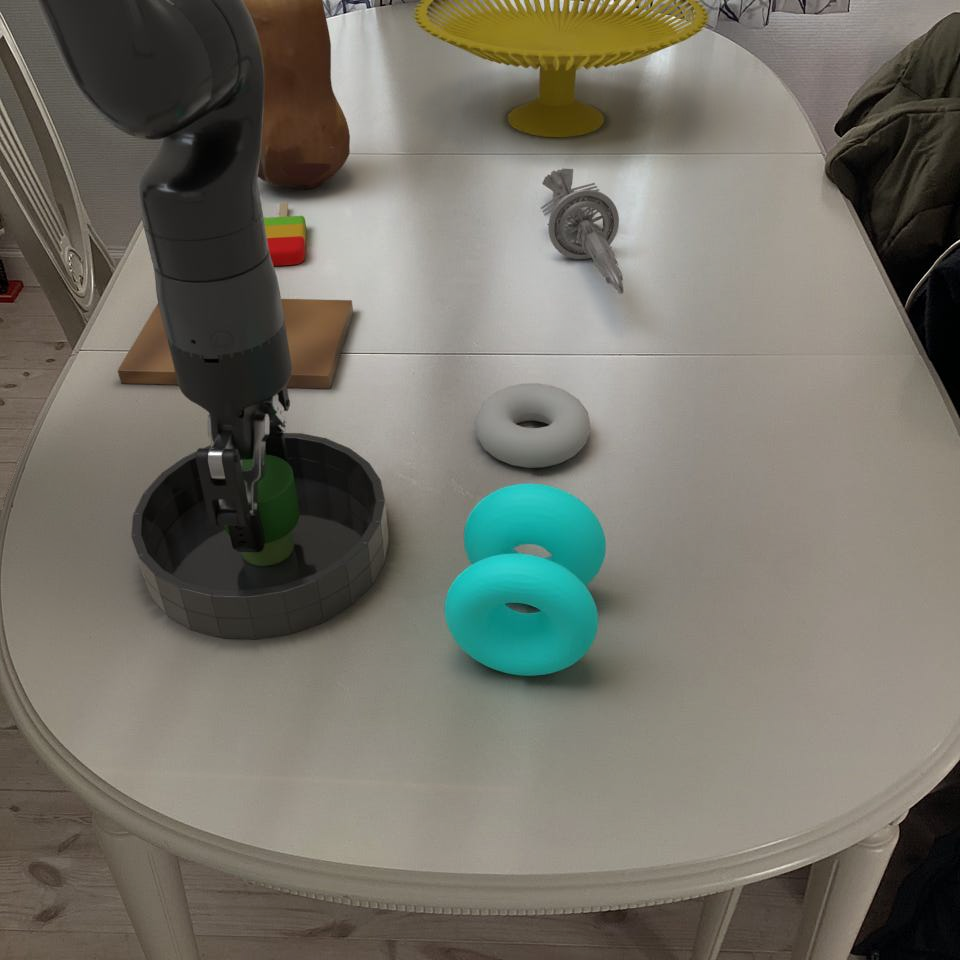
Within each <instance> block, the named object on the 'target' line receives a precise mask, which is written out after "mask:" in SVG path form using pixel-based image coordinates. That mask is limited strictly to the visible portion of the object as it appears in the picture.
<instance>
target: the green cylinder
mask: <svg viewBox="0 0 960 960" xmlns="http://www.w3.org/2000/svg"><path fill="white" fill-rule="evenodd" d="M242 461H243V466H242V469H250V468H251V467H252V466H253V459H251V460H242ZM244 483H245V489H246V482H245V481H244ZM258 508H259V513H260V518H261V522H262V527H263V532H264V537H265V545H264V548H263V550H262V551H261V552H241V553H242V556H243V558H244V559H245V560H246V561H247V562H249V563H251V564H253V565H257V566H270V565H274V564H277V563H279V562H282V561H283V560H285V559H286V558H287V557H288V556H289V555H290V554H291V553H292V551H293V548H294V541H293V535H292V530H293V529H294V528H295V526H296V525H297V523H298V520H299V516H300V512H299V506H298V500H297V494H296V488H295V482H294V476H293V471H292V468H291V467H290V465H289V464H288V463H287V462H286V461H284V460H283V459H281V458H279V457H276V456H272V455H265V477H264V478H263V479H262V480H260V481H259V482H258ZM224 527H225V530H226V532H227V533H228V534H229V530H228V525H224ZM229 535H230V534H229Z"/></svg>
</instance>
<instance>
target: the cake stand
mask: <svg viewBox="0 0 960 960" xmlns="http://www.w3.org/2000/svg"><path fill="white" fill-rule="evenodd" d="M472 1H473V2H474V3H475V4H476V6H475V5H474V4H473V3H472V2H471V1H470V0H462V2H463V3H465V4H466V6H467V7H466V6H465V5H464V4H463V3H461V1H459V0H452V2H453V3H455V4H456V5H457V6H458V7H459V8H457V6H456V5H454V4H453V3H452V2H451V1H449V0H441V1H440V0H419V2H420V3H419V4H418V3H417V4H416V6H417V7H413V8H412V9H413V10H414V11H413V12H412V14H413V15H414V16H412V18H413V19H415V20H414V22H415V23H417V26H418V27H420V28H421V29H422V31H424V32H426V33H427V34H428V35H430V36H433V37H434V38H436V39H439V40H441V41H443V42H445V43H448V44H449V45H452V46H454V47H455V48H458V49H461V50H463V51H465V52H467V53H470V54H472V55H473V56H476V57H478V58H481V59H483V60H487V61H489V62H491V63H493V62H494V63H496V64H500V65H501V64H503V65H506V66H513V67H515V68H518V67H520V66H521V67H523V68H525V69H528V68H529V67H531V68H532V69H533V70H538V69H539V82H538V84H539V85H538V97H537V98H535V99H533V100H530V101H528V102H525V103H524V104H522V105H520V106H517V107H515V108H514V109H512V110H511V111H510V112H509V114H508V116H507V121H508V123H509V125H510V126H511V127H513V128H514V129H515V130H517V131H519V132H521V133H525V134H528V135H531V136H537V137H546V138H571V137H578V136H583V135H587V134H590V133H593V132H595V131H597V130H599V129H600V128H601V127H602V126H603V124H604V122H605V117H604V115H603V114H602V112H601V111H599V110H598V109H597V108H594V107H593V106H591V105H590V104H588V103H587V104H586V103H585V102H583V101H581V100H578V99H577V98H575V97H576V96H575V93H576V76H577V71H579V70H580V69H582V68H584V69H585V70H589V69H592V68H595V70H596V69H600V68H602V67H604V68H608V67H611V66H614V67H616V66H618V65H620V64H621V65H624V64H626V63H632V62H633V61H637V60H639V59H642V58H644V57H648V56H649V55H652V54H655V53H657V52H659V51H662V50H665V49H668V48H669V47H672V46H674V45H677V44H680V43H682V42H684V41H687V40H689V39H691V37H693V36H696V35H698V33H700V32H702V31H703V30H704V29H703V28H705V27H707V26H708V25H707V24H709V23H710V22H711V21H710V20H709V19H710V18H711V16H708V15H710V12H708V11H707V10H708V8H705V7H704V6H705V4H703V3H699V2H700V0H678V1H677V0H668V1H667V2H666V3H664V4H663V5H662V6H661V7H659V6H660V5H661V4H662V3H663V2H665V1H666V0H657V1H656V2H655V3H654V4H652V3H653V2H654V0H646V1H645V2H644V3H643V5H641V3H642V2H643V1H644V0H635V2H634V3H633V4H631V5H630V3H631V2H632V1H633V0H625V1H624V2H623V3H622V4H621V5H620V7H618V6H619V4H620V3H621V2H622V0H614V2H613V3H612V4H611V6H610V7H609V5H610V2H611V1H612V0H604V1H603V3H602V5H601V6H600V7H599V5H600V2H601V0H594V1H593V3H592V5H591V6H590V8H589V5H590V3H591V0H583V3H582V5H581V8H580V9H579V7H580V1H581V0H573V3H572V7H571V9H570V1H571V0H563V5H562V8H561V2H560V1H561V0H553V8H551V1H550V0H543V7H542V5H541V4H542V3H541V2H540V1H541V0H533V3H534V4H533V5H534V7H533V5H532V3H531V1H530V0H523V3H524V6H525V7H524V6H523V4H522V3H521V1H520V0H513V2H514V4H515V6H514V5H513V4H512V2H511V1H510V0H503V3H504V4H505V6H506V7H505V6H504V5H503V3H502V2H501V1H500V0H493V2H494V3H495V5H496V6H497V7H496V6H495V5H494V4H493V3H492V2H491V1H490V0H482V2H484V4H485V5H486V6H487V7H488V8H487V7H486V6H485V5H484V4H483V3H482V2H481V1H480V0H472ZM676 1H677V2H676ZM675 2H676V3H675ZM686 2H687V3H686ZM443 3H444V4H446V5H447V6H448V7H449V8H448V7H447V6H446V5H444V4H443ZM673 3H675V4H674V5H672V4H673ZM435 4H436V5H435ZM650 4H652V6H650V7H649V5H650ZM683 4H684V5H683ZM629 5H630V6H629ZM639 5H641V6H640V7H638V6H639ZM670 5H672V6H671V7H669V6H670ZM681 5H683V6H682V7H680V6H681ZM477 6H478V7H479V8H478V7H477ZM628 6H629V7H628ZM439 7H440V8H441V9H440V8H439ZM468 7H469V8H468ZM627 7H628V8H627ZM637 7H638V8H637ZM647 7H649V8H647ZM657 7H659V8H658V9H656V8H657ZM668 7H669V8H668ZM678 7H680V8H679V9H677V8H678ZM450 8H451V9H452V10H453V11H452V10H451V9H450ZM460 8H461V9H460ZM636 8H637V9H636ZM646 8H647V9H646ZM666 8H668V9H667V10H666V11H664V10H665V9H666ZM687 8H688V9H687ZM442 9H443V10H444V11H446V12H447V13H449V14H447V13H446V12H444V11H443V10H442ZM470 9H471V10H470ZM635 9H636V10H635ZM645 9H646V10H645ZM655 9H656V10H655ZM675 9H677V10H676V11H674V10H675ZM434 10H435V11H434ZM462 10H463V11H462ZM654 10H655V11H654ZM454 11H455V12H454ZM663 11H664V12H663ZM673 11H674V12H673ZM682 11H684V12H682ZM693 11H694V12H693ZM661 12H662V13H661ZM671 12H673V13H671ZM681 12H682V13H681ZM691 12H692V13H691ZM650 13H651V14H650ZM670 13H671V14H670ZM689 13H691V14H689ZM668 14H670V15H668ZM678 14H679V15H678ZM688 14H689V15H688ZM433 15H434V16H433ZM667 15H668V16H667ZM676 15H677V16H676ZM686 15H687V16H686ZM685 16H686V17H685ZM673 17H674V18H673ZM681 18H682V19H681ZM689 23H690V24H689Z"/></svg>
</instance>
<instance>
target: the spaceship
mask: <svg viewBox="0 0 960 960" xmlns="http://www.w3.org/2000/svg"><path fill="white" fill-rule="evenodd" d="M573 177H574V168H561V169H557V170H552V171H551V172H550V174H549V173H548V174H547V175H546V176H544V179H543V181H542V183H541V184H542V185H543V186H545V188H547V189H548V190H550V191H552V199H551V200H550V201H548V202H547V203H545V204H544V205H542V206H541V207H540V209H541V210H542V213H544V216H545V217H546V216H548V215H549V214H550V216H549V219H548V223H547V226H548V227H547V228H548V237H549V239H550V242H551V244H552V246H553V247H554V248H555V249H556V251H558V253H560V254H561V255H563V256H564V257H566V258H569V259H574V260H587V259H590V258H591V259H592V260H593V263H594V265H595V267H596V269H597V270H598V271H599V273H600V274H601V275H602V277H604V279H605V281H606V283H607V284H608V285H610V286H612V287H613V289H614V290H615V291H616V292H617V293H618V294H619V295H622V294H624V284H623V280H624V279H623V273H622V271H621V269H620V267H619V266H618V265H619V263H618V261H617V259H616V256H615V254H614V251H613V247H612V246H611V244H613V242H614V240H615V238H616V236H617V233H618V231H619V227H620V215H619V211H618V208H617V206H616V205H615V203H614V202H613V200H612V199H611V198H610V197H609V196H608V195H606V194H605V193H603V192H601V191H600V189H599V188H598V186H597V185H596V182H593V183H588V184H585V185H580V186H577V187H573ZM572 187H573V188H572ZM583 208H584V209H583ZM598 213H599V214H600V215H599V216H596V217H595V215H597V214H598ZM600 220H602V227H601V226H600V225H599V224H597V223H596V222H597V221H600ZM566 229H568V230H566ZM574 232H577V234H576V238H575V240H574V241H571V239H570V238H569V237H568V235H570V234H571V233H574Z"/></svg>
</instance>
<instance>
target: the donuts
mask: <svg viewBox="0 0 960 960" xmlns="http://www.w3.org/2000/svg"><path fill="white" fill-rule="evenodd" d="M523 545H524V546H525V545H532V546H537V547H540V548H541V549H544V550H545V551H546V552H548V553H549V554H550V556H546V557H541V556H538V555H534V554H533V555H532V554H528V553H522V552H518V551H517V550H516V549H515V548H517V547H519V546H523ZM463 546H464V550H465V554H466V557H467V559H468V561H469V563H470V565H469V566H467V567H466V568H465V569H464V570H463V571H461V572H460V573H459V574H458V575H457V577H455V579H454V580H453V581H452V583H451V585H450V587H449V589H448V591H447V594H446V596H445V602H444V616H445V622H446V623H445V624H446V626H447V628H448V631H449V633H450V635H451V636H452V639H453V640H454V641H455V643H456V644H457V645H458V647H460V649H462V651H463V652H465V653H466V654H467V655H468V656H469V657H470V658H472V659H473V660H475V661H477V662H478V663H480V664H482V665H483V666H486V667H488V668H490V669H492V670H495V671H498V672H501V673H505V674H510V675H513V676H526V677H536V676H543V675H550V674H553V673H556V672H560V671H563V670H565V669H567V668H569V667H571V666H573V665H574V664H576V663H577V662H578V661H579V660H581V659H582V658H583V657H584V656H585V655H586V654H587V653H588V652H589V650H590V649H591V647H592V645H593V644H594V641H595V640H596V636H597V633H598V628H599V614H598V608H597V604H596V602H595V600H594V598H593V596H592V594H591V592H590V590H589V588H588V587H587V586H588V585H589V584H590V583H591V582H592V581H593V580H594V579H595V578H596V576H597V575H598V574H599V572H600V570H601V568H602V566H603V564H604V561H605V557H606V551H607V550H606V549H607V541H606V537H605V532H604V529H603V527H602V523H601V522H600V519H598V517H597V516H596V514H595V513H594V511H593V510H591V508H590V507H589V506H588V505H587V504H586V503H585V502H583V501H582V500H581V499H580V498H578V497H577V496H575V495H574V494H572V493H570V492H568V491H566V490H563V489H561V488H559V487H555V486H551V485H548V484H542V483H541V484H540V483H516V484H511V485H506V486H503V487H501V488H499V489H496V490H494V491H492V492H490V493H488V494H487V495H485V497H483V498H482V499H480V500H479V501H478V502H477V504H476V505H475V506H474V507H473V508H472V510H471V511H470V513H469V515H468V517H467V519H466V522H465V525H464V529H463ZM509 603H515V604H524V605H529V606H530V607H534V608H536V609H537V610H538V611H535V612H529V613H527V612H526V613H525V612H520V611H516V610H514V609H512V608H510V607H509V606H508V605H506V604H509Z"/></svg>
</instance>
